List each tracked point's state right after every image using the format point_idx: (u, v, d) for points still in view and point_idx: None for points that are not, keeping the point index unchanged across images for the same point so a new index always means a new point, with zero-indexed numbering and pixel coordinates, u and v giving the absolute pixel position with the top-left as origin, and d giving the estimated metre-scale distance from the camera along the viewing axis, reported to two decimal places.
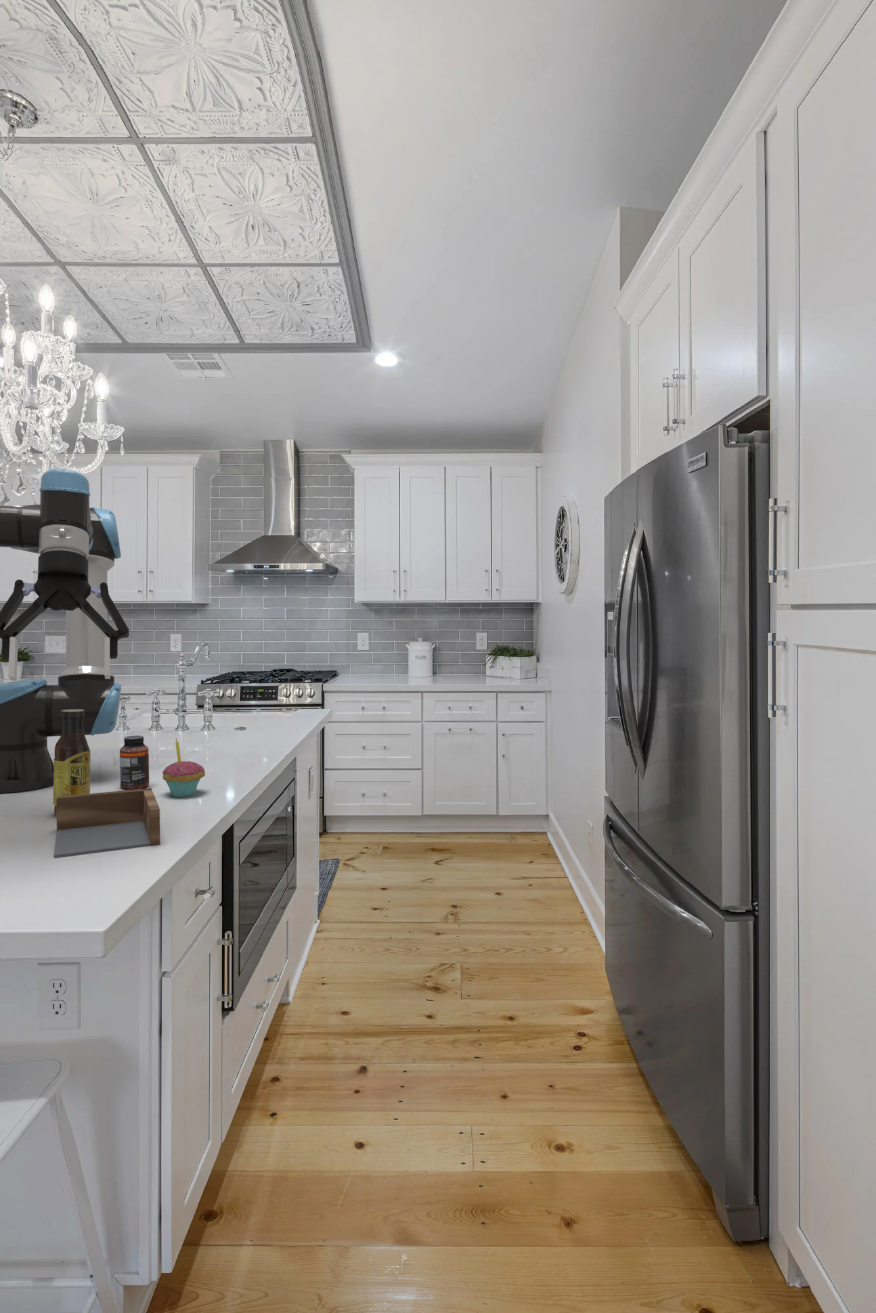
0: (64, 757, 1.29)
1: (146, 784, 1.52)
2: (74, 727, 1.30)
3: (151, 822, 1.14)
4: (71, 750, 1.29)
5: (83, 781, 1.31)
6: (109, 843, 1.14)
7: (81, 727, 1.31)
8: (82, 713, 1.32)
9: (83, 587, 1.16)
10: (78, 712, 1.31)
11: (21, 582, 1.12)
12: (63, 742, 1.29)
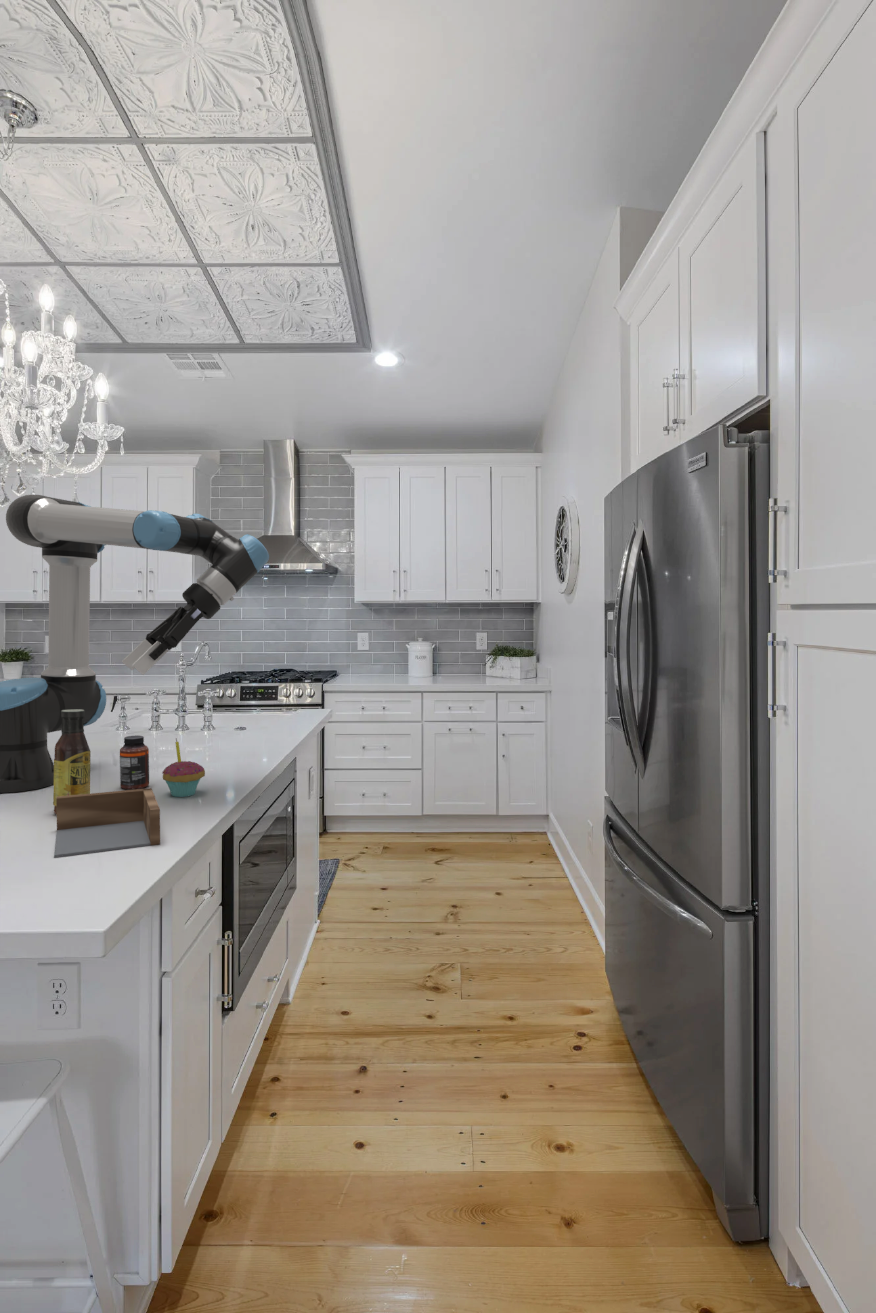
0: (64, 757, 1.29)
1: (146, 784, 1.52)
2: (74, 727, 1.30)
3: (151, 822, 1.14)
4: (71, 750, 1.29)
5: (83, 781, 1.31)
6: (109, 843, 1.14)
7: (81, 727, 1.31)
8: (82, 713, 1.32)
9: None
10: (78, 712, 1.31)
11: None
12: (63, 742, 1.29)
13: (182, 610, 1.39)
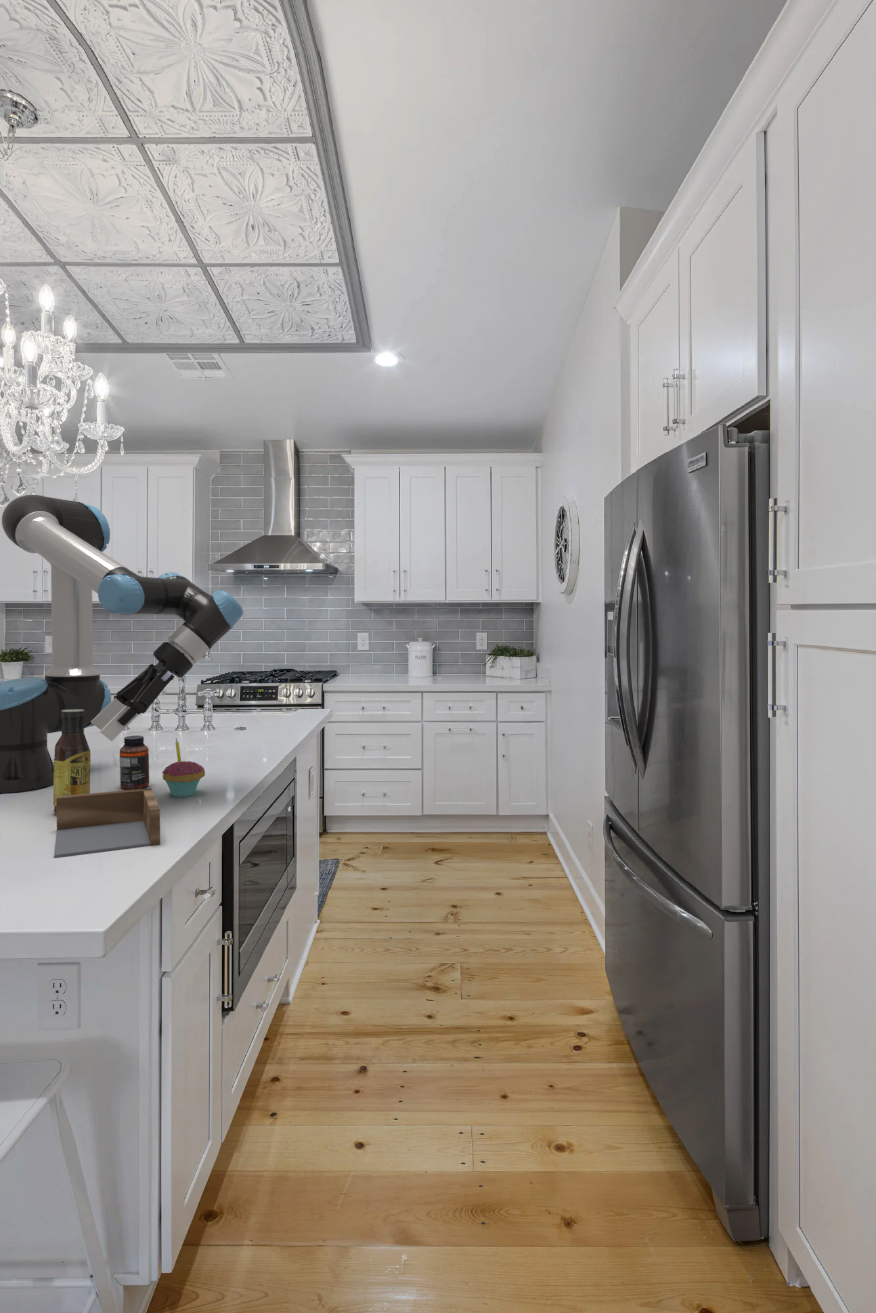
0: (64, 757, 1.29)
1: (146, 784, 1.52)
2: (74, 727, 1.30)
3: (151, 822, 1.14)
4: (71, 750, 1.29)
5: (83, 781, 1.31)
6: (109, 843, 1.14)
7: (81, 727, 1.31)
8: (82, 713, 1.32)
9: None
10: (78, 712, 1.31)
11: None
12: (63, 742, 1.29)
13: (153, 671, 1.36)
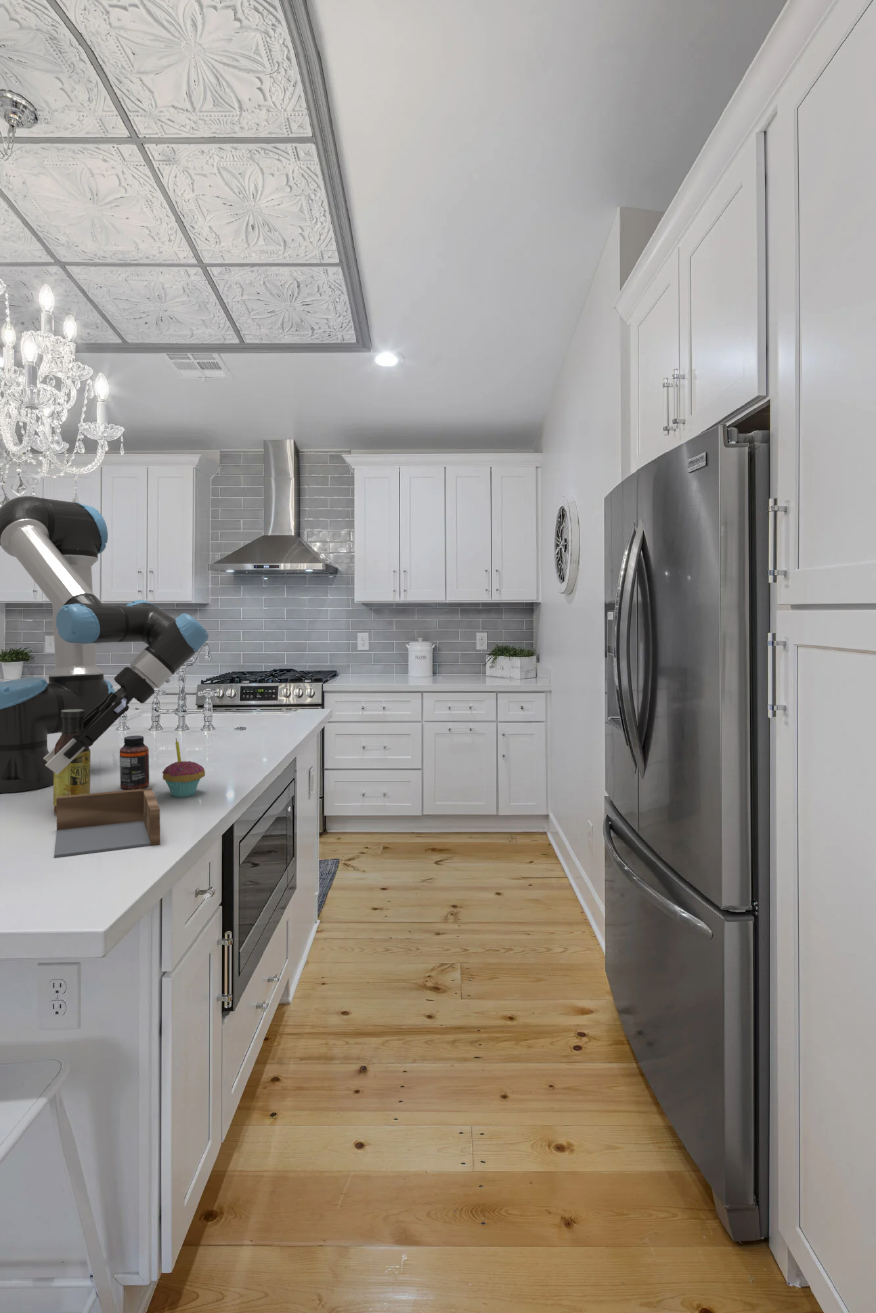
0: None
1: (146, 784, 1.52)
2: (74, 727, 1.30)
3: (151, 822, 1.14)
4: None
5: (83, 781, 1.31)
6: (109, 843, 1.14)
7: (81, 727, 1.31)
8: (82, 713, 1.31)
9: None
10: (78, 712, 1.31)
11: None
12: (63, 742, 1.29)
13: (111, 698, 1.33)
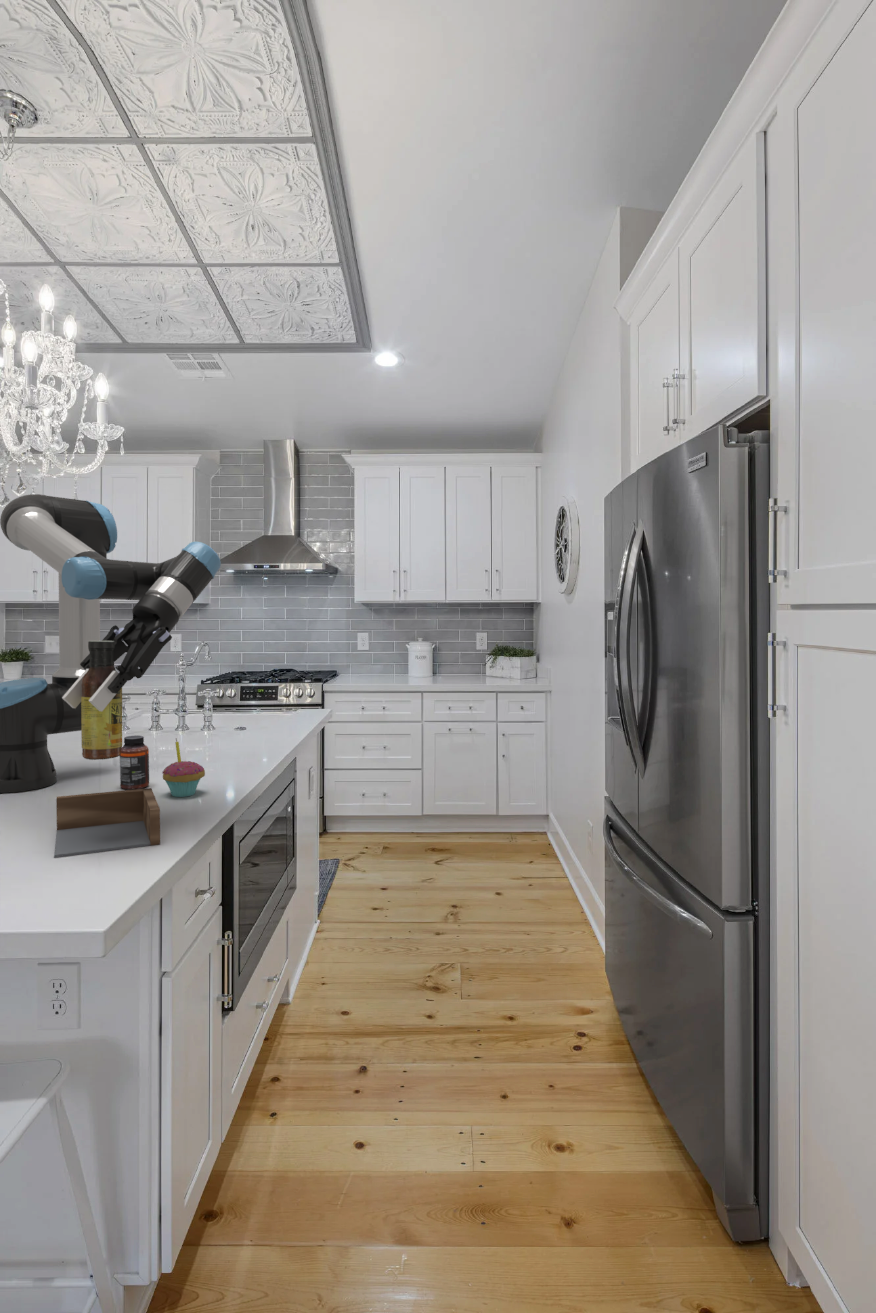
0: None
1: (146, 784, 1.52)
2: (109, 659, 1.15)
3: (151, 822, 1.14)
4: None
5: (121, 720, 1.17)
6: (109, 843, 1.14)
7: (113, 659, 1.17)
8: (114, 644, 1.17)
9: None
10: (113, 642, 1.16)
11: None
12: (100, 676, 1.14)
13: (142, 627, 1.20)
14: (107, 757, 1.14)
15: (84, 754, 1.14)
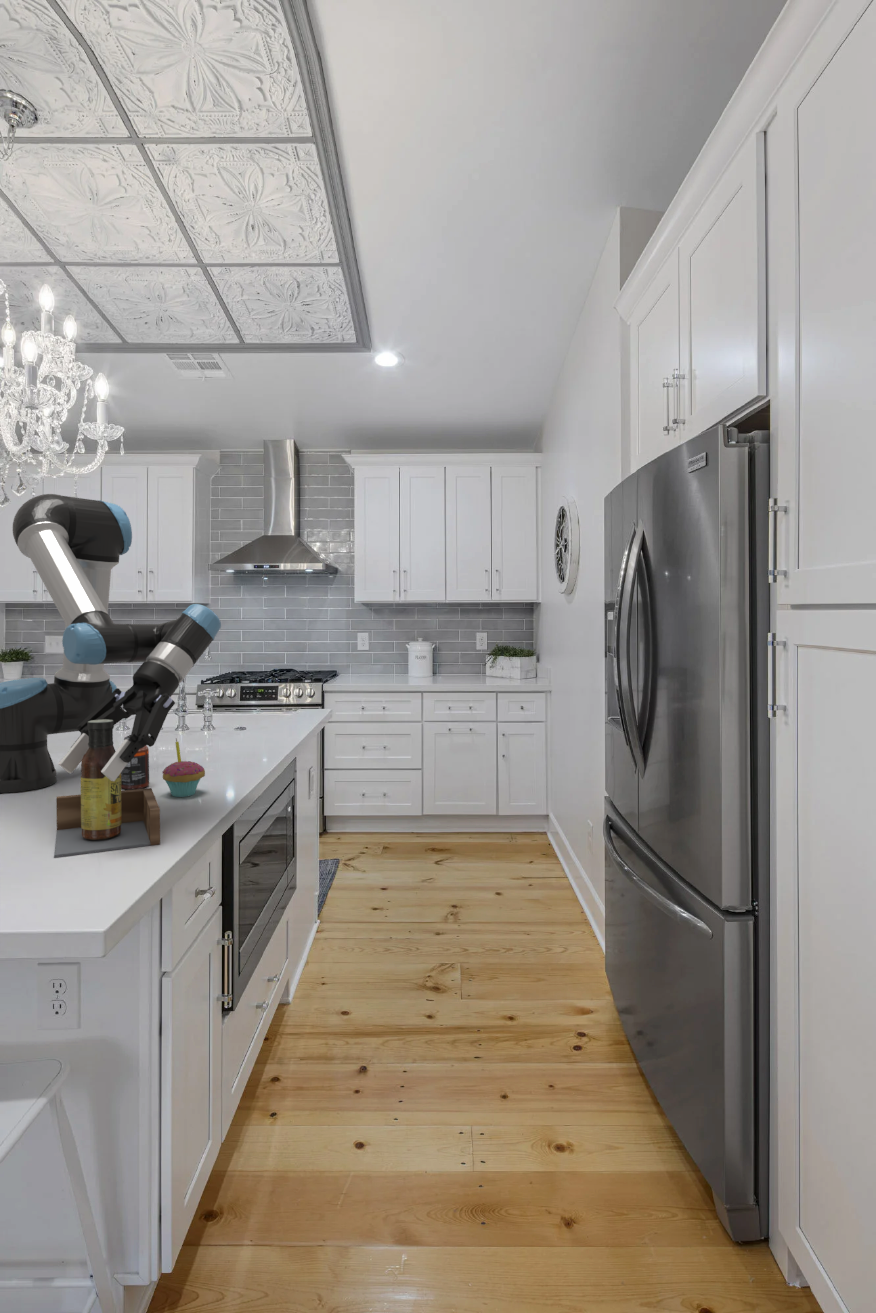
0: None
1: (146, 784, 1.52)
2: (108, 739, 1.16)
3: (151, 822, 1.14)
4: None
5: (120, 799, 1.17)
6: (109, 843, 1.14)
7: (112, 738, 1.17)
8: (113, 723, 1.18)
9: None
10: (112, 722, 1.17)
11: None
12: (99, 757, 1.15)
13: (143, 695, 1.21)
14: (106, 837, 1.15)
15: (84, 834, 1.15)
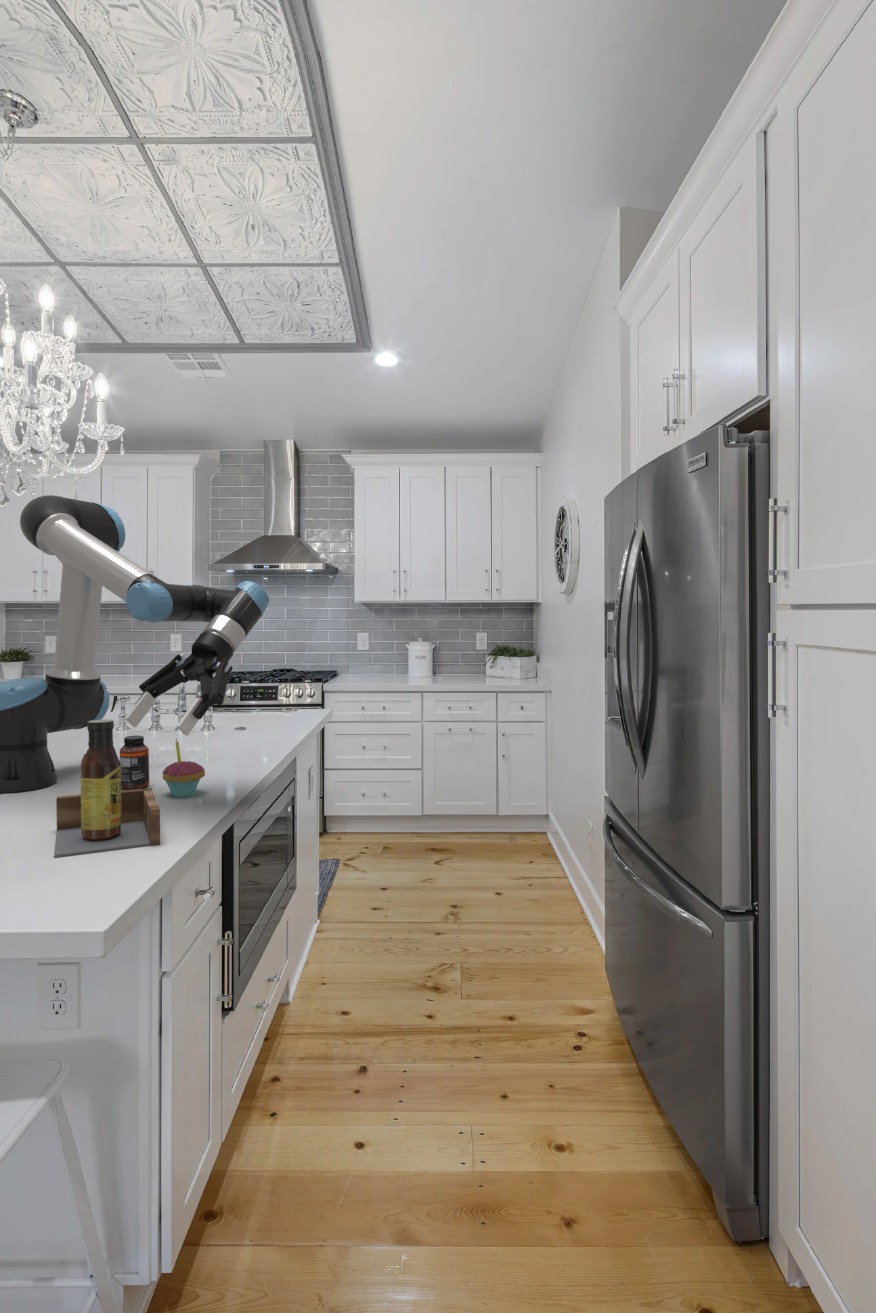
0: (103, 773, 1.15)
1: (146, 784, 1.52)
2: (108, 739, 1.16)
3: (151, 822, 1.14)
4: (109, 765, 1.15)
5: (120, 799, 1.18)
6: (109, 843, 1.14)
7: (112, 738, 1.18)
8: (113, 723, 1.18)
9: None
10: (112, 722, 1.17)
11: None
12: (99, 757, 1.15)
13: (203, 662, 1.32)
14: (106, 837, 1.15)
15: (84, 834, 1.15)
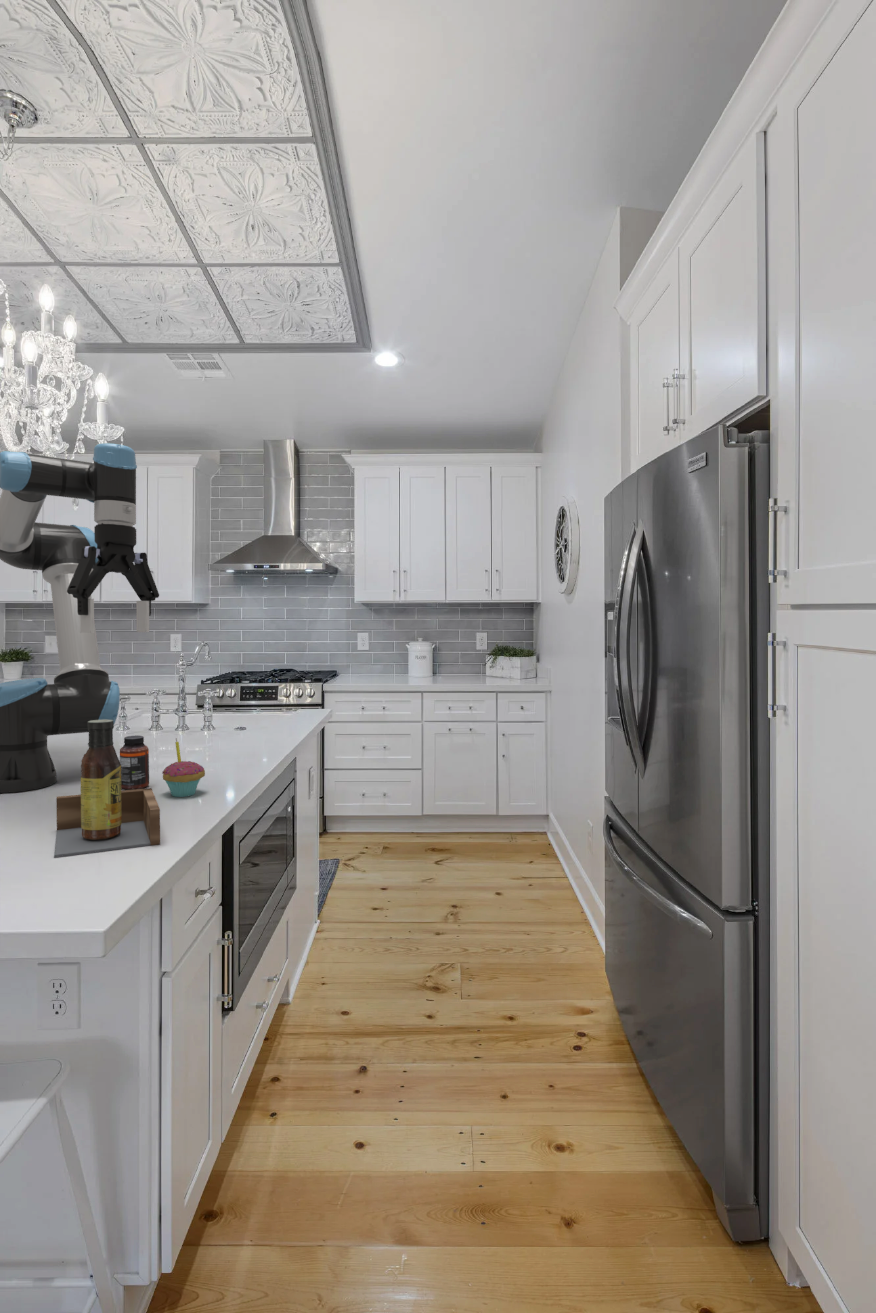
0: (103, 773, 1.15)
1: (146, 784, 1.52)
2: (108, 739, 1.16)
3: (151, 822, 1.14)
4: (109, 765, 1.15)
5: (120, 799, 1.18)
6: (109, 843, 1.14)
7: (112, 738, 1.18)
8: (113, 723, 1.18)
9: (132, 556, 1.38)
10: (112, 722, 1.17)
11: (95, 549, 1.30)
12: (99, 757, 1.15)
13: None
14: (106, 837, 1.15)
15: (84, 834, 1.15)
